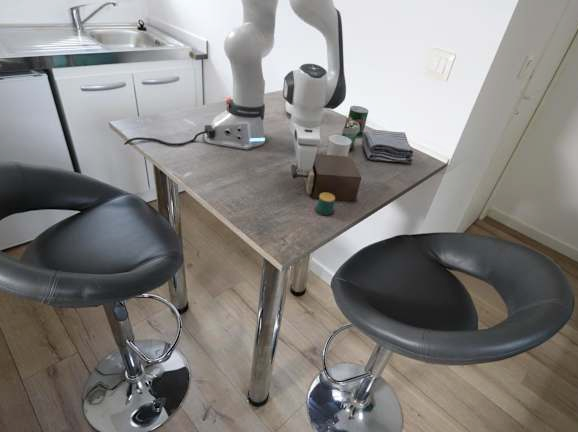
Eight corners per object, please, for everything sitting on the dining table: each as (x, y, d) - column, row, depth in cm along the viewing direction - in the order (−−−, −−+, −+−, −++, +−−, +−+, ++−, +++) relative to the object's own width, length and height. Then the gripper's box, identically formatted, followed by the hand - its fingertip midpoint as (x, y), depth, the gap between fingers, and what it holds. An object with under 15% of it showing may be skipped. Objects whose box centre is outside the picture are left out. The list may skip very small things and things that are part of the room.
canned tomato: (362, 131, 157) (368, 107, 150) (362, 138, 150) (369, 113, 144) (344, 128, 157) (350, 104, 150) (344, 135, 150) (350, 110, 144)
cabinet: (312, 198, 106) (317, 173, 101) (308, 176, 117) (311, 153, 112) (355, 201, 108) (361, 177, 103) (346, 179, 119) (352, 156, 114)
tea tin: (317, 214, 99) (320, 200, 96) (315, 205, 103) (318, 191, 100) (333, 215, 100) (336, 201, 97) (330, 206, 103) (333, 192, 100)
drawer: (291, 193, 105) (294, 173, 101) (289, 173, 115) (291, 154, 111) (346, 197, 107) (351, 178, 104) (339, 177, 117) (343, 159, 113)
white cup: (339, 173, 121) (345, 146, 116) (319, 165, 124) (324, 139, 118) (349, 165, 127) (355, 140, 121) (330, 158, 130) (335, 133, 124)
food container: (353, 156, 134) (359, 131, 129) (338, 152, 135) (343, 128, 129) (356, 144, 145) (362, 120, 139) (341, 140, 145) (346, 117, 139)
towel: (359, 144, 145) (363, 126, 140) (401, 148, 147) (407, 131, 143) (367, 161, 132) (372, 142, 128) (412, 165, 135) (419, 147, 130)
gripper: (291, 112, 107) (286, 153, 115) (298, 140, 91) (292, 186, 99) (311, 114, 108) (305, 155, 116) (321, 142, 92) (314, 187, 100)
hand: (299, 169), depth 107 cm, fingers closed
